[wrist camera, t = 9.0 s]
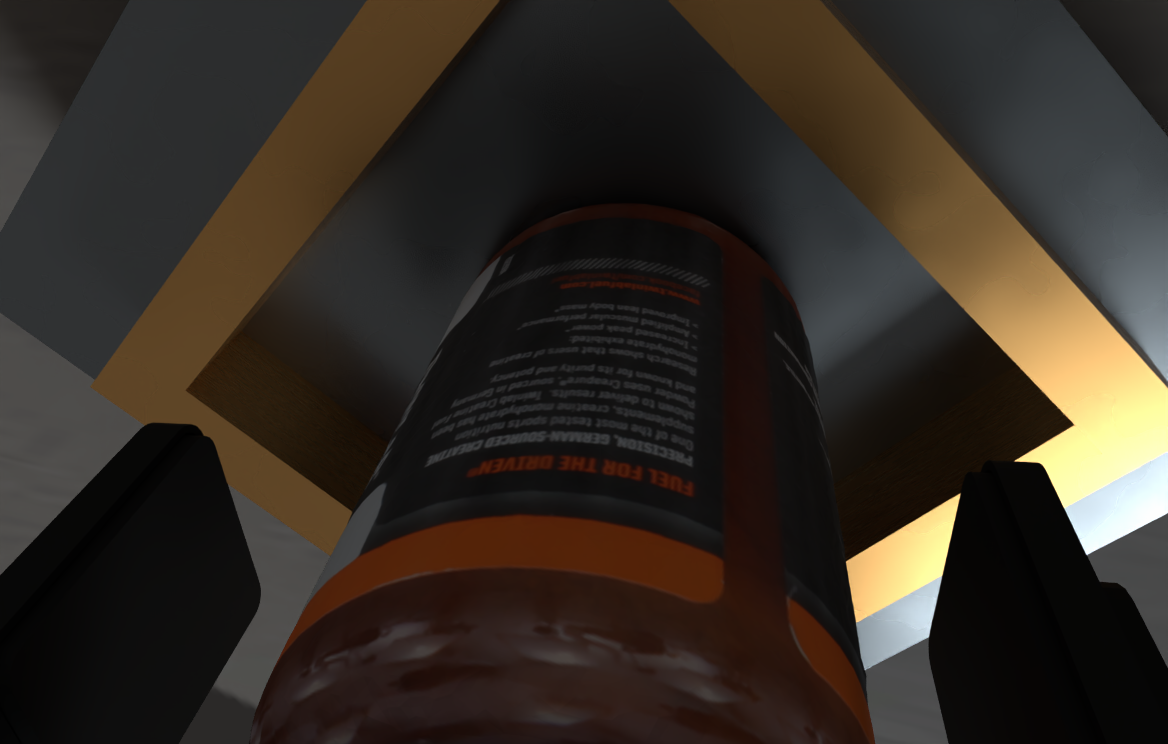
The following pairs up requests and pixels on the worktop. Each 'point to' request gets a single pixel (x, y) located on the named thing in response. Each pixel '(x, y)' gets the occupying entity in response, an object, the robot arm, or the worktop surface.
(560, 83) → the grey orange open tray
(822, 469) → the supplement bottle
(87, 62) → the worktop surface
